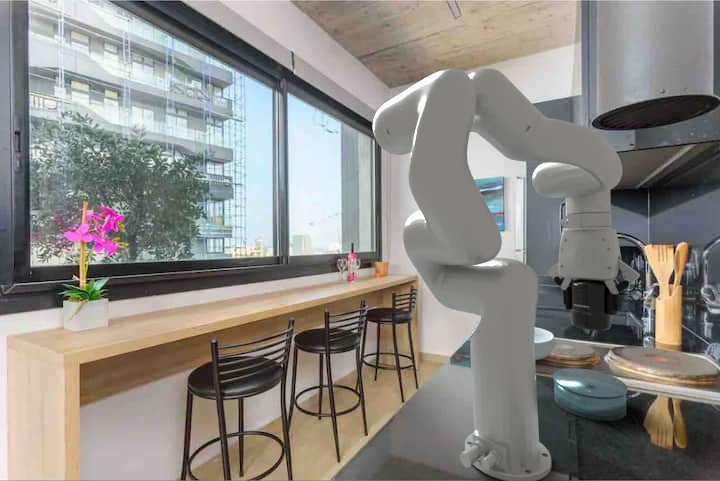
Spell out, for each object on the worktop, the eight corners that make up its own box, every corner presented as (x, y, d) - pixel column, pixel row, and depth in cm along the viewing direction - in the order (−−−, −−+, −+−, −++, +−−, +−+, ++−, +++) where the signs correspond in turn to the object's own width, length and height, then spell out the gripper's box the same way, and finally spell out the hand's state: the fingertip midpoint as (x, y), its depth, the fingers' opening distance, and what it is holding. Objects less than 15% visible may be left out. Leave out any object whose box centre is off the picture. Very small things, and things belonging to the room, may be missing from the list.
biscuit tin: (622, 429, 61) (621, 401, 61) (545, 406, 70) (545, 382, 70) (631, 403, 70) (631, 378, 70) (562, 385, 79) (562, 363, 79)
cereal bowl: (477, 352, 103) (476, 329, 103) (522, 345, 108) (521, 322, 108) (519, 373, 87) (518, 345, 87) (570, 363, 92) (569, 336, 92)
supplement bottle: (572, 328, 69) (570, 268, 69) (570, 321, 75) (568, 266, 75) (614, 332, 66) (613, 268, 66) (609, 324, 72) (607, 266, 72)
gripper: (536, 225, 75) (538, 308, 75) (636, 219, 61) (639, 321, 61) (551, 225, 79) (553, 303, 79) (647, 220, 66) (650, 314, 66)
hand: (590, 310), depth 70 cm, fingers closed on supplement bottle, 6 cm apart
